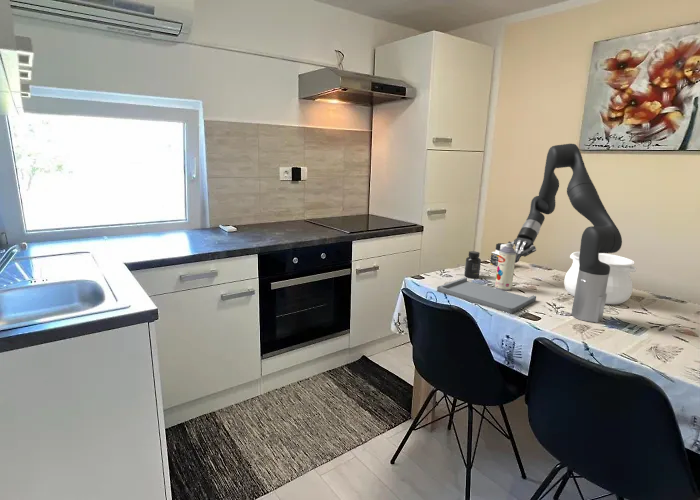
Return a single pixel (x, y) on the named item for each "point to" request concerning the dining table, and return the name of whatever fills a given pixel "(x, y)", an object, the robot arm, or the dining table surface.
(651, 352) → the dining table surface
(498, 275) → the aerosol can
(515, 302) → the tray
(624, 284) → the pot
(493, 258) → the medicine bottle
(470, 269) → the supplement bottle
